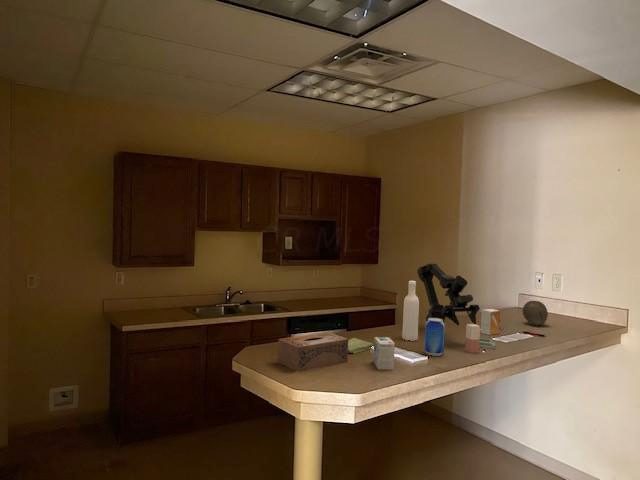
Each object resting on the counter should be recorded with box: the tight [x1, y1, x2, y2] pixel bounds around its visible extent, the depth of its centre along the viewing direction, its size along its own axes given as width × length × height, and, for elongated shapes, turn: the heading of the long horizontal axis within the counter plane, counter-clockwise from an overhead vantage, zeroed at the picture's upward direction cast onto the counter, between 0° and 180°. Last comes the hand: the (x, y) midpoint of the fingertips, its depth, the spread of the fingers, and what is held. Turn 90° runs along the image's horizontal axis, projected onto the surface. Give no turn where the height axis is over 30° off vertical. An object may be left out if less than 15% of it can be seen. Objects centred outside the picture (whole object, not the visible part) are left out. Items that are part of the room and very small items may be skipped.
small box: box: [480, 308, 501, 336], centre depth 257 cm, size 8×6×13 cm
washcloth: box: [348, 337, 374, 355], centre depth 217 cm, size 13×18×3 cm
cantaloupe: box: [522, 300, 549, 327], centre depth 282 cm, size 14×14×15 cm
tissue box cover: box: [277, 331, 349, 373], centre depth 194 cm, size 26×14×10 cm, turn 127°
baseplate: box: [479, 337, 496, 350], centre depth 231 cm, size 12×12×2 cm
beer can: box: [424, 318, 446, 357], centre depth 212 cm, size 8×8×16 cm
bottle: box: [401, 280, 420, 342], centre depth 237 cm, size 8×8×30 cm
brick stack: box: [464, 323, 481, 354], centre depth 218 cm, size 4×4×12 cm
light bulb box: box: [372, 336, 396, 371], centre depth 192 cm, size 11×7×11 cm, turn 5°
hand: (466, 324), depth 223 cm, fingers open, 9 cm apart
